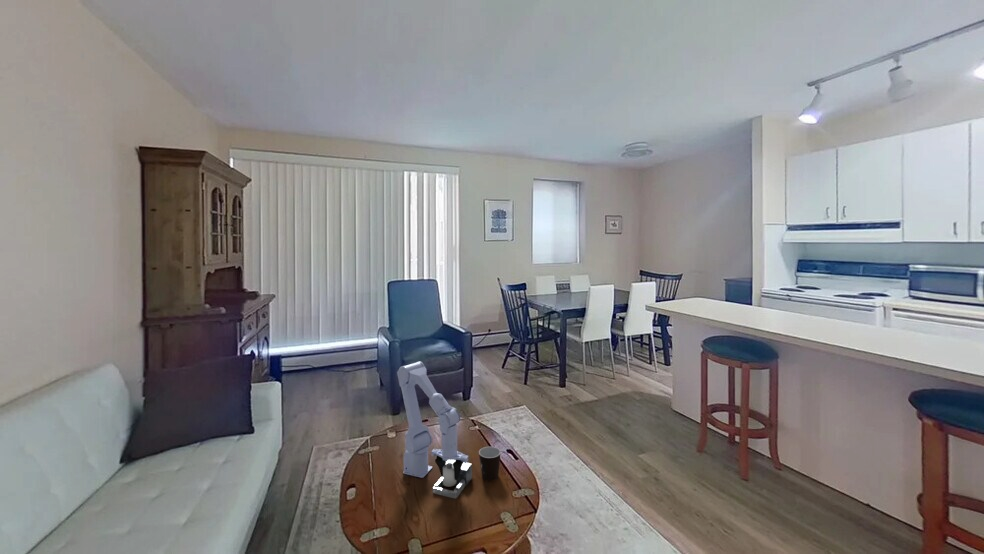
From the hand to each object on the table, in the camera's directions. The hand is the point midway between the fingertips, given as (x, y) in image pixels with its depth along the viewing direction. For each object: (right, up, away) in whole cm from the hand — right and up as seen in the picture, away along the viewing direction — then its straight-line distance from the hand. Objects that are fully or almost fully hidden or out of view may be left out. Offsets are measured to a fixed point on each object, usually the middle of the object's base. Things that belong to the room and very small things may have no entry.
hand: (450, 477), depth 147 cm
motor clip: (0, -4, +3) cm, 5 cm away
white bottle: (0, -2, 0) cm, 2 cm away
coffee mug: (+15, -4, +9) cm, 18 cm away
